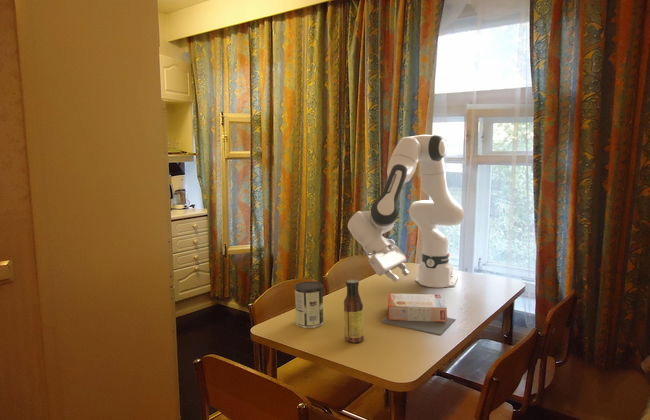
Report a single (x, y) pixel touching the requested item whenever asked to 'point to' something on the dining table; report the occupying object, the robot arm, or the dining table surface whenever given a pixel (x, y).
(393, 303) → the cracker box
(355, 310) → the sauce bottle
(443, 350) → the dining table surface
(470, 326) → the dining table surface
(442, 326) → the mat
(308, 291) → the coffee can
